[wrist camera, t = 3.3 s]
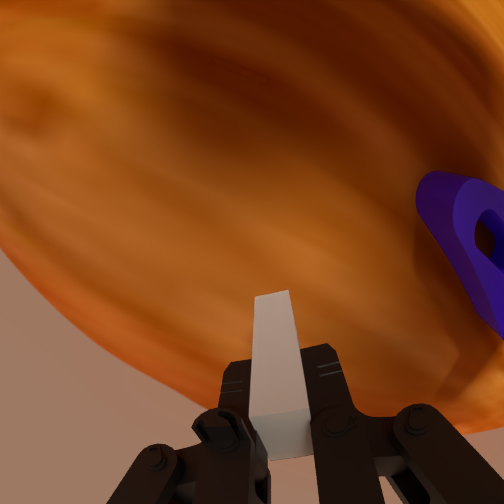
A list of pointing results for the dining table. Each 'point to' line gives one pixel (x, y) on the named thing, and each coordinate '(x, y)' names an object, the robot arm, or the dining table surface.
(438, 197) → the bracket
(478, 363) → the dining table surface
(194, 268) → the dining table surface
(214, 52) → the dining table surface
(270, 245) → the dining table surface
